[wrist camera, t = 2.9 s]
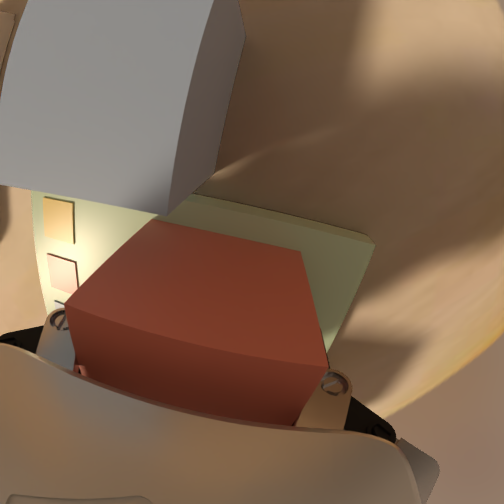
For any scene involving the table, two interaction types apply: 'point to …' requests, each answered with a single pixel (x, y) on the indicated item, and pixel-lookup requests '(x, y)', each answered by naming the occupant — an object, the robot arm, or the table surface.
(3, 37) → the beige open rectangular frame
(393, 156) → the table surface
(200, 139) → the slate block
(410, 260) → the table surface
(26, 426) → the robot arm
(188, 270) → the red block
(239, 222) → the building board
